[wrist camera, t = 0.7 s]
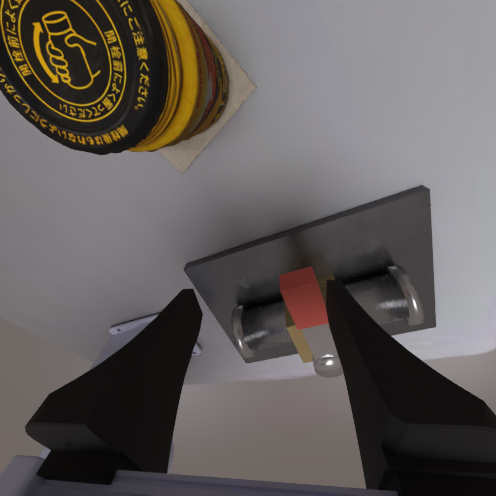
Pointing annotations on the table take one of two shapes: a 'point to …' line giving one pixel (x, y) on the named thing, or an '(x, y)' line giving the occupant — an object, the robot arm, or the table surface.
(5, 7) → the condiment
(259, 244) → the valve body
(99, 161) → the table surface
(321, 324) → the valve lever
